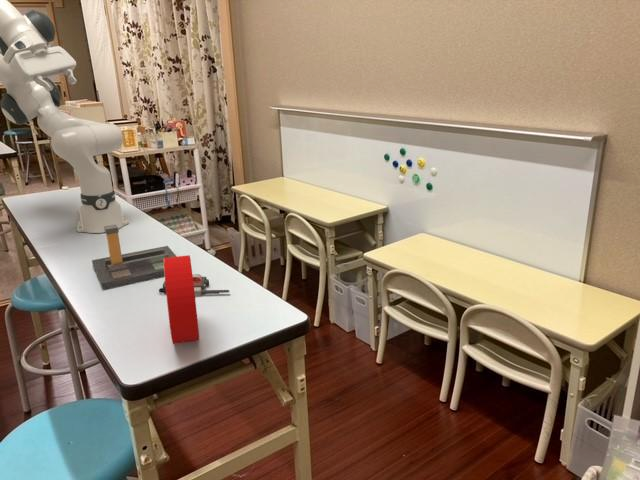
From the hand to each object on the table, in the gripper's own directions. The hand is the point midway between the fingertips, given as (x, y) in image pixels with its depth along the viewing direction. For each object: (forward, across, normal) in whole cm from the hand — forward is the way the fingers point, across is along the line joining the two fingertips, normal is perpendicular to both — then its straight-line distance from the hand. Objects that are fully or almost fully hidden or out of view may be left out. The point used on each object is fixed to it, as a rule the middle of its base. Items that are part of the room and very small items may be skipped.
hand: (62, 86), depth 154 cm
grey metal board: (+57, +15, -12) cm, 60 cm away
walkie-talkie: (+72, +22, +9) cm, 76 cm away
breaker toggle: (+53, +19, -13) cm, 57 cm away
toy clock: (+76, +44, +20) cm, 90 cm away
